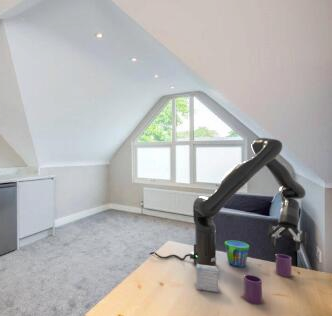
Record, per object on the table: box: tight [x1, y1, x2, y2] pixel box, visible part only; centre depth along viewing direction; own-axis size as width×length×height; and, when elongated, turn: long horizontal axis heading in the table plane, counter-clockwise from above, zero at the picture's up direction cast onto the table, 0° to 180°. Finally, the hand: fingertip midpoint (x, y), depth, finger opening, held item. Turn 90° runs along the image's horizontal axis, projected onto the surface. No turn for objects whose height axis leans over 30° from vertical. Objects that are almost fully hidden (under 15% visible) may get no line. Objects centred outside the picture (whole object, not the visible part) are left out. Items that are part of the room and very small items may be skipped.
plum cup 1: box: [243, 274, 263, 305], centre depth 92 cm, size 6×6×8 cm
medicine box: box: [195, 264, 219, 293], centre depth 100 cm, size 8×4×9 cm, turn 71°
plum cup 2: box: [275, 253, 293, 278], centre depth 111 cm, size 6×6×8 cm
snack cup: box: [224, 239, 250, 268], centre depth 122 cm, size 16×10×10 cm
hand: (284, 247), depth 113 cm, fingers open, 8 cm apart
